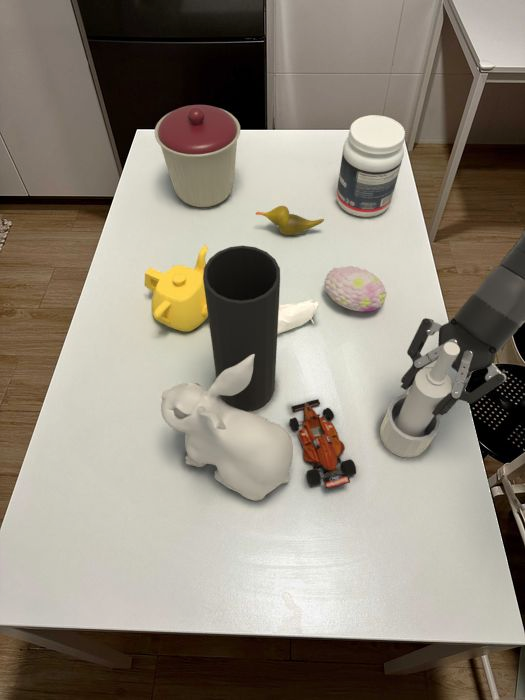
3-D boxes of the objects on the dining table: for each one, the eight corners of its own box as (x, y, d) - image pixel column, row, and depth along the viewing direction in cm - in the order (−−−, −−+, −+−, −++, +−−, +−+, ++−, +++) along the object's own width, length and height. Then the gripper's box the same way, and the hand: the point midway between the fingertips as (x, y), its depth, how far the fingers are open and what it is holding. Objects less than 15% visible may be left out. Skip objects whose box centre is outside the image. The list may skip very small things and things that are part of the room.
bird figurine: (299, 309, 104) (256, 319, 100) (312, 290, 99) (267, 300, 94) (310, 329, 103) (267, 341, 98) (323, 311, 97) (279, 322, 93)
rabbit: (191, 409, 90) (171, 324, 69) (301, 453, 86) (315, 375, 65) (159, 467, 84) (126, 392, 63) (275, 517, 80) (281, 454, 59)
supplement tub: (334, 182, 125) (344, 111, 109) (387, 184, 124) (405, 113, 109) (336, 219, 117) (347, 148, 102) (392, 221, 117) (412, 150, 102)
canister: (166, 170, 127) (151, 86, 109) (239, 166, 128) (236, 82, 110) (166, 221, 117) (149, 137, 99) (245, 215, 118) (242, 132, 100)
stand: (438, 436, 87) (450, 418, 82) (407, 467, 84) (418, 450, 79) (400, 404, 91) (410, 385, 85) (369, 433, 88) (377, 414, 82)
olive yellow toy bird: (256, 223, 117) (256, 200, 111) (322, 227, 116) (325, 204, 111) (254, 236, 114) (254, 213, 109) (322, 240, 114) (325, 217, 108)
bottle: (387, 420, 88) (425, 335, 67) (416, 415, 88) (462, 329, 68) (396, 448, 85) (440, 368, 64) (426, 442, 85) (479, 362, 65)
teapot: (226, 329, 100) (224, 296, 92) (158, 344, 98) (149, 312, 90) (210, 277, 107) (206, 243, 99) (146, 291, 105) (137, 257, 97)
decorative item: (325, 259, 104) (357, 250, 95) (364, 283, 109) (398, 277, 100) (311, 300, 102) (342, 294, 93) (352, 322, 107) (385, 319, 98)
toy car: (325, 398, 91) (328, 386, 88) (359, 486, 83) (363, 476, 79) (283, 408, 90) (284, 397, 87) (313, 498, 81) (315, 489, 78)
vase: (231, 355, 96) (221, 237, 72) (282, 371, 95) (290, 256, 70) (209, 401, 91) (190, 290, 66) (263, 419, 89) (264, 312, 64)
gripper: (449, 273, 69) (373, 370, 75) (543, 339, 63) (453, 439, 69) (460, 280, 76) (389, 369, 81) (547, 340, 70) (464, 431, 75)
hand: (419, 400), depth 75 cm, fingers closed on bottle, 5 cm apart
